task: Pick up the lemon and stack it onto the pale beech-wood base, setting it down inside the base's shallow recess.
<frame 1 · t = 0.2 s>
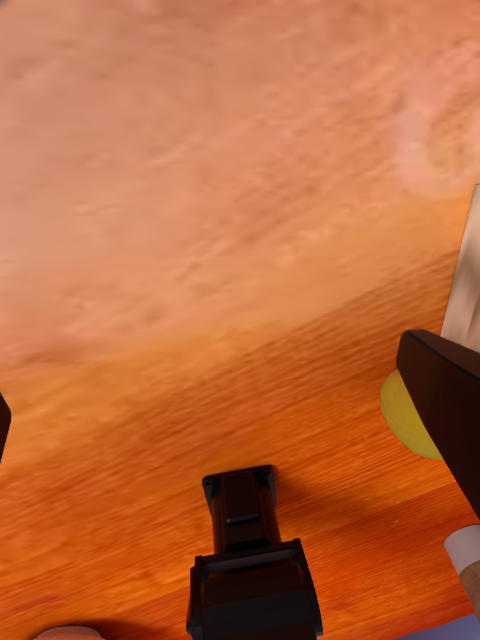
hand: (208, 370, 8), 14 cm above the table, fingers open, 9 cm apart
lemon: (395, 369, 29), on the table
coffee cup: (465, 535, 47), on the table
cereal bowl: (68, 635, 49), on the table
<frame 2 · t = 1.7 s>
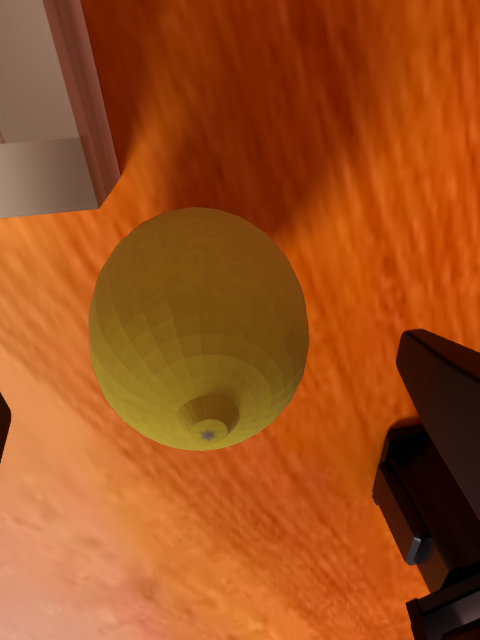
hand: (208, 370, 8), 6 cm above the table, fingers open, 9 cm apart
lemon: (196, 257, 13), on the table
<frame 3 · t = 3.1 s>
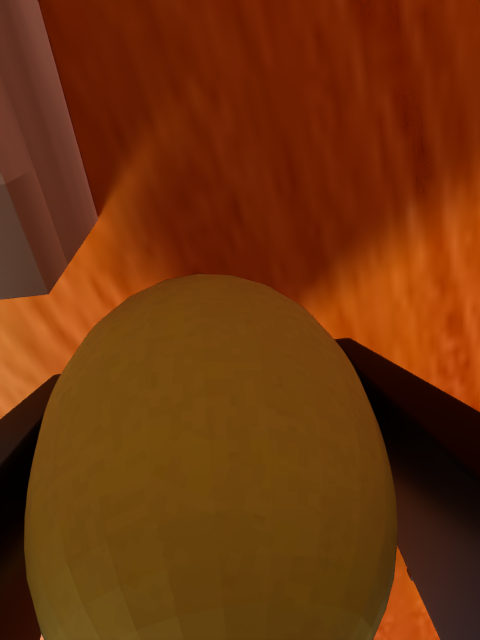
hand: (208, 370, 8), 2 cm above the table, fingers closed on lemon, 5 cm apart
lemon: (203, 317, 10), on the table, touching gripper
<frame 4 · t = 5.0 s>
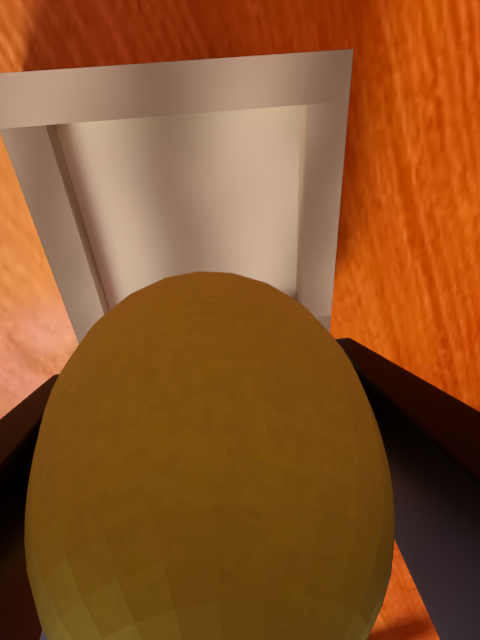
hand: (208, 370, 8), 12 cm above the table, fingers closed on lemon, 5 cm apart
lemon: (204, 315, 10), point 9 cm above the table, touching gripper
base: (194, 214, 18), on the table
when the fingers open (6 cm above the table, at t = 6.8 s): lemon drops 1 cm, resting on base.
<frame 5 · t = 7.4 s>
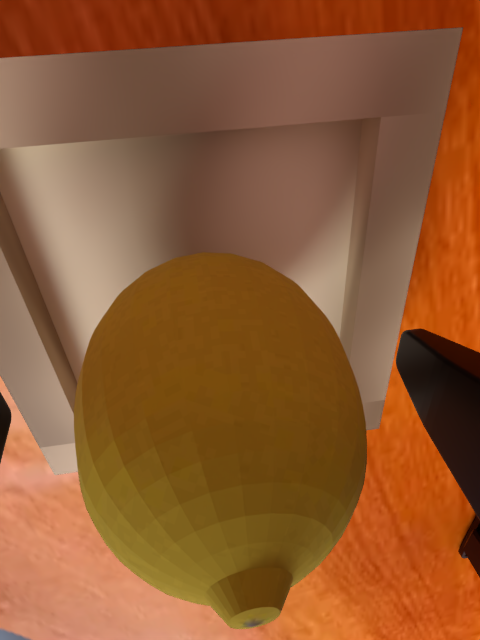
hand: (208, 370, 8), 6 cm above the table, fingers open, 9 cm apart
lemon: (202, 293, 11), point 2 cm above the table, touching base
base: (199, 262, 13), on the table
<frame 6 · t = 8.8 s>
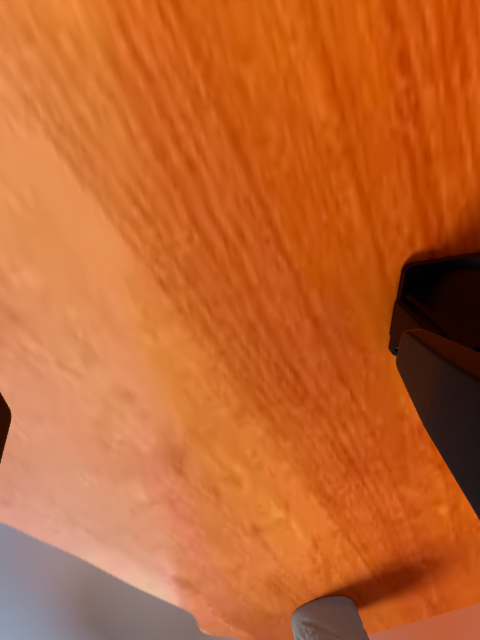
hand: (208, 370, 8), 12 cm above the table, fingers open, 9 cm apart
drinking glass: (323, 608, 48), on the table
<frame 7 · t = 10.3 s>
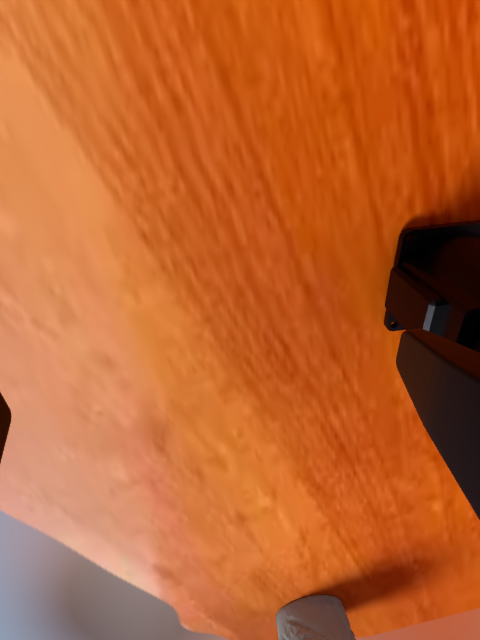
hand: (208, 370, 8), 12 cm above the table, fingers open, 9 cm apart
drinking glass: (310, 608, 47), on the table
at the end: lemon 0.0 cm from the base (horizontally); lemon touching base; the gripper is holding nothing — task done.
